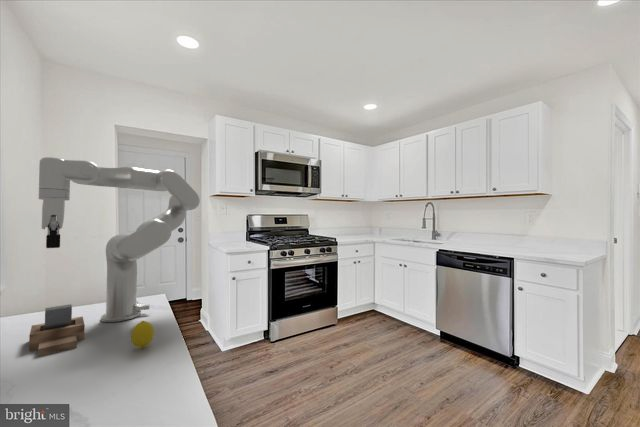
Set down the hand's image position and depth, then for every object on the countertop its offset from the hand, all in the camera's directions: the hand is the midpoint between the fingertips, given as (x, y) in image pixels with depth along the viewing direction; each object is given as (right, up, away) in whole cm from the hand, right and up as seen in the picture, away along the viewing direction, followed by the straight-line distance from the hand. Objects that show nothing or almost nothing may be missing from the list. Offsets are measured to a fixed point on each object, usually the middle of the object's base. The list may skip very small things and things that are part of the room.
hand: (53, 246), depth 93 cm
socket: (+7, -28, -6) cm, 30 cm away
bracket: (+7, -28, -6) cm, 30 cm away
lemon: (+37, -28, -12) cm, 48 cm away
